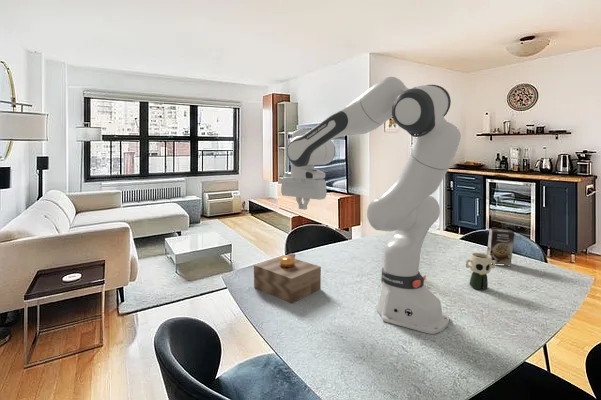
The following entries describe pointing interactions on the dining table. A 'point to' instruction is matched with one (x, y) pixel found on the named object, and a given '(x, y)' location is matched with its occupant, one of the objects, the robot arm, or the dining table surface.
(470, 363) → the dining table surface
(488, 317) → the dining table surface
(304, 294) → the walnut block
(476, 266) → the character mug
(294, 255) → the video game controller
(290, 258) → the steel pin
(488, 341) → the dining table surface
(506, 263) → the coffee box
